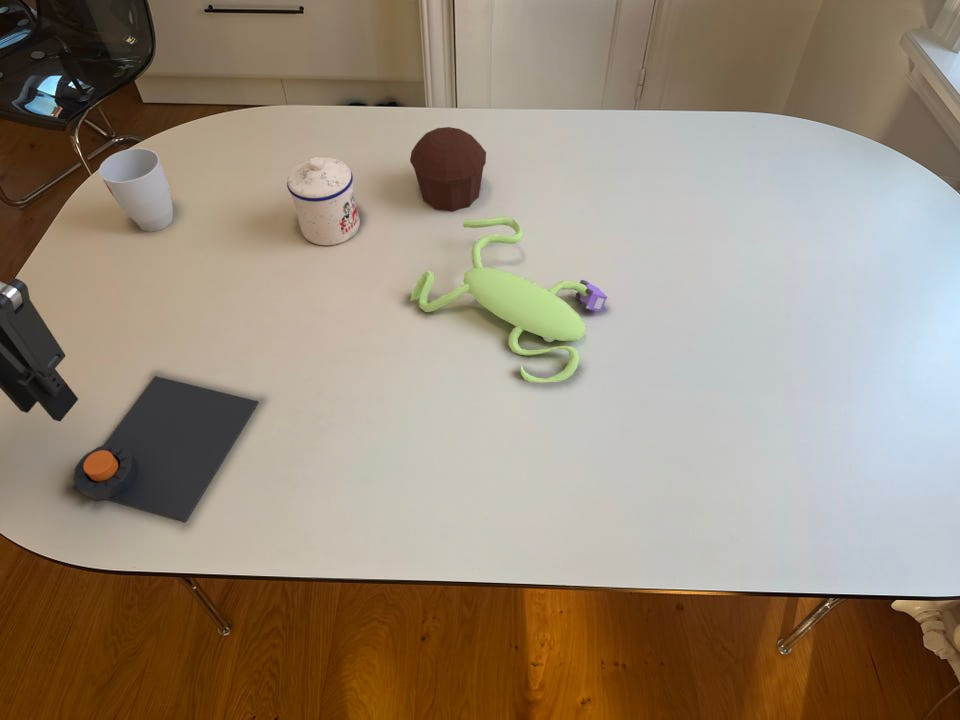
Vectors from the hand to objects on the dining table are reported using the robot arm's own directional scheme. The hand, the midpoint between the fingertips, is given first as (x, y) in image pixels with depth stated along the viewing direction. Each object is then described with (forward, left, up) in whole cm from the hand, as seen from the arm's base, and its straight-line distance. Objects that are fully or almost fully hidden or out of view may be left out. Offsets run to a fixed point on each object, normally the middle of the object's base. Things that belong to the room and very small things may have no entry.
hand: (49, 404), depth 67 cm
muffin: (+20, +58, -15) cm, 64 cm away
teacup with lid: (+5, +48, -15) cm, 50 cm away
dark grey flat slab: (+4, +6, -15) cm, 16 cm away
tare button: (0, 0, -12) cm, 12 cm away
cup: (-21, +40, -15) cm, 48 cm away
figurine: (+35, +38, -15) cm, 53 cm away
